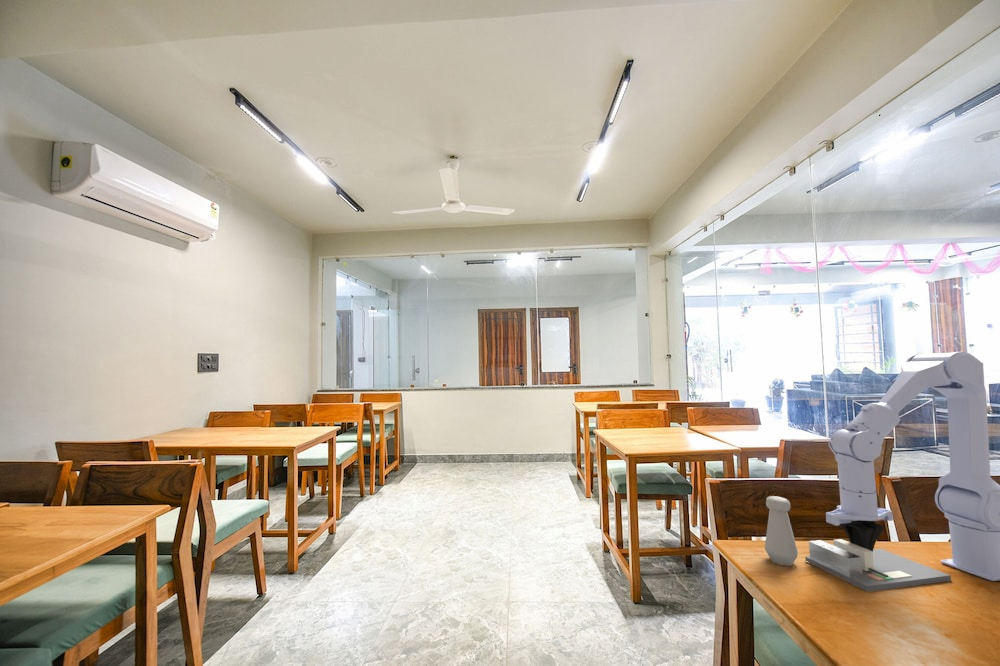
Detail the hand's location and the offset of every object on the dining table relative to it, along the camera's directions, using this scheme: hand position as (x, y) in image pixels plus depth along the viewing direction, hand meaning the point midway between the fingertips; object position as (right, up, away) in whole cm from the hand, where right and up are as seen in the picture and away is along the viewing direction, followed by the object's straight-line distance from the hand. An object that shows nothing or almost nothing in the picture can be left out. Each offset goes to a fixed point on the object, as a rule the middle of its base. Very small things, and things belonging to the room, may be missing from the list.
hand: (862, 558), depth 82 cm
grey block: (-7, -2, -2) cm, 7 cm away
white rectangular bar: (-2, 0, -2) cm, 3 cm away
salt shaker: (-14, -3, +3) cm, 15 cm away
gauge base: (+2, -2, -1) cm, 3 cm away
